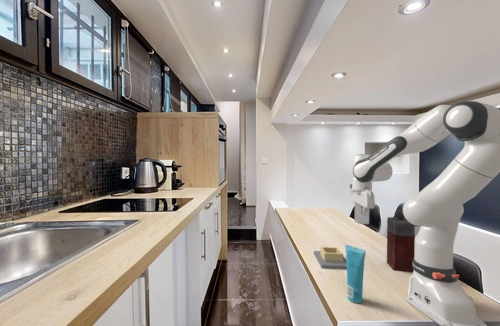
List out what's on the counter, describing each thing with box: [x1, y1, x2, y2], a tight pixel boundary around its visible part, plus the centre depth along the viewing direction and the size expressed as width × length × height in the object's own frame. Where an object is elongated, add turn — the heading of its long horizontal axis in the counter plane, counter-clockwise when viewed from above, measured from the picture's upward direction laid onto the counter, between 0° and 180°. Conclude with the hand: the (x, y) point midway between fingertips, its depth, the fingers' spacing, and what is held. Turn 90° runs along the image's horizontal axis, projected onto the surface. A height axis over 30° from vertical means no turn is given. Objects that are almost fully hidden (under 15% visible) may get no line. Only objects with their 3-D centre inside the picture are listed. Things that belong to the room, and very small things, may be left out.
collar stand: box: [313, 246, 347, 270], centre depth 119 cm, size 18×14×6 cm
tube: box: [344, 244, 367, 304], centre depth 85 cm, size 7×5×19 cm, turn 47°
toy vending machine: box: [386, 209, 416, 273], centre depth 114 cm, size 9×11×28 cm
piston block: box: [354, 202, 370, 225], centre depth 115 cm, size 5×5×10 cm
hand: (361, 214), depth 115 cm, fingers closed on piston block, 5 cm apart
